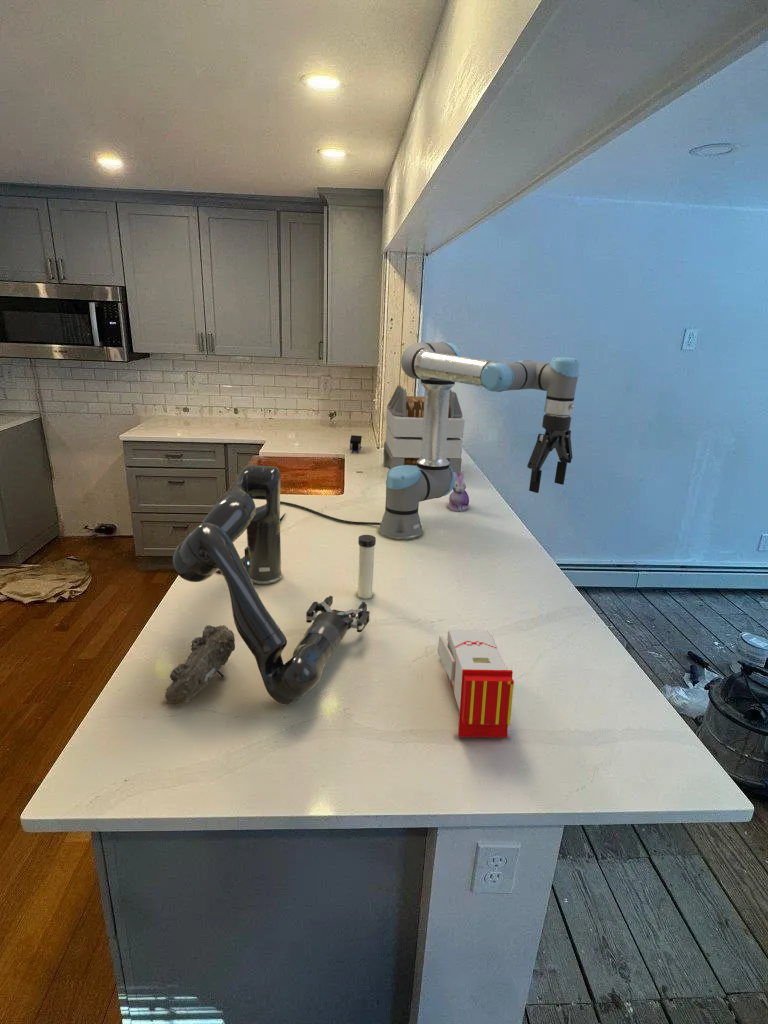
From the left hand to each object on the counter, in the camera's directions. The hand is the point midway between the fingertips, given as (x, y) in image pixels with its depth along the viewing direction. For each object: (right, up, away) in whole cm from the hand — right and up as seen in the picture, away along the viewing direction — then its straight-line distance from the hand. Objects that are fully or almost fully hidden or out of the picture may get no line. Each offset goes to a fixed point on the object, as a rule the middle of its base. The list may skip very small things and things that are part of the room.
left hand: (347, 602), depth 140 cm
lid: (+4, +15, +11) cm, 19 cm away
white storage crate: (+26, +41, +135) cm, 143 cm away
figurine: (+39, +24, +89) cm, 100 cm away
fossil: (-29, -12, -20) cm, 37 cm away
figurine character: (-7, +56, +171) cm, 180 cm away
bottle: (+4, -1, +16) cm, 17 cm away
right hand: (+56, +29, +25) cm, 68 cm away
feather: (-28, +20, +70) cm, 79 cm away
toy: (+27, -15, -22) cm, 38 cm away
